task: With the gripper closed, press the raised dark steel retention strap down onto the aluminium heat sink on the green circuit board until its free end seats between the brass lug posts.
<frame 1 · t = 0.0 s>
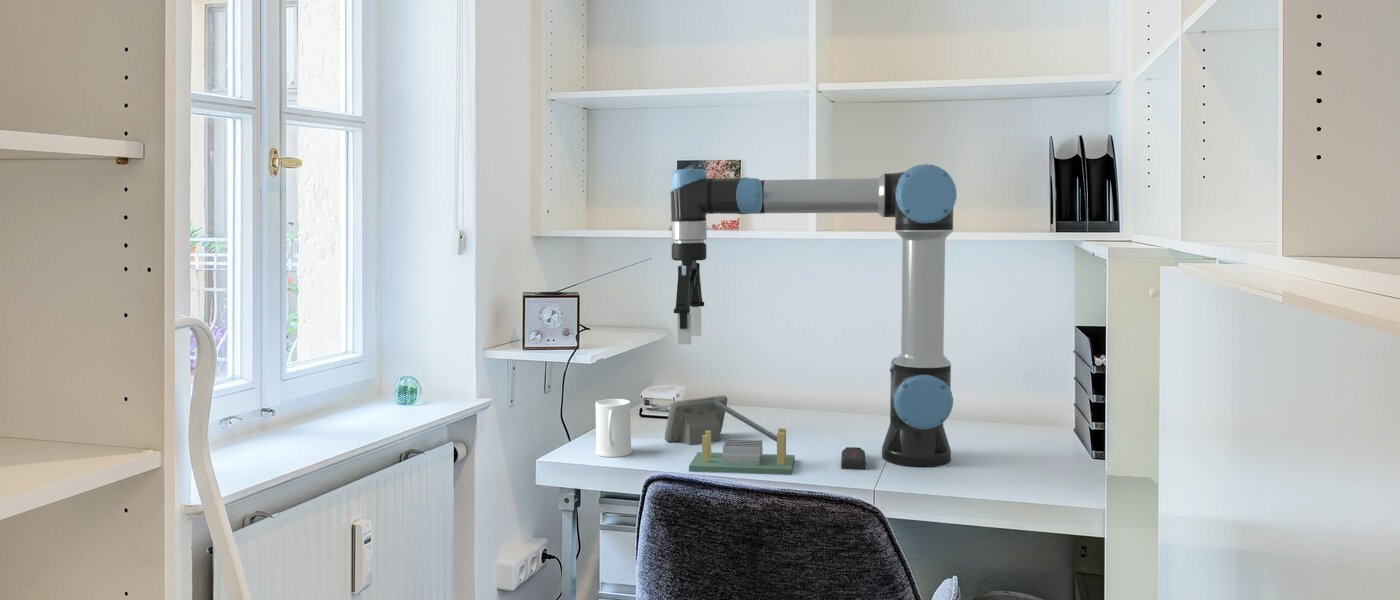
hand: (689, 340, 204), 28 cm above the table, fingers open, 13 cm apart
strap: (748, 422, 206), point 10 cm above the table, hinge at 30.0°
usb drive: (853, 464, 210), on the table
mug: (612, 455, 218), on the table
digital clock: (696, 440, 232), on the table
heatsink: (742, 451, 207), point 3 cm above the table
board: (742, 465, 207), on the table
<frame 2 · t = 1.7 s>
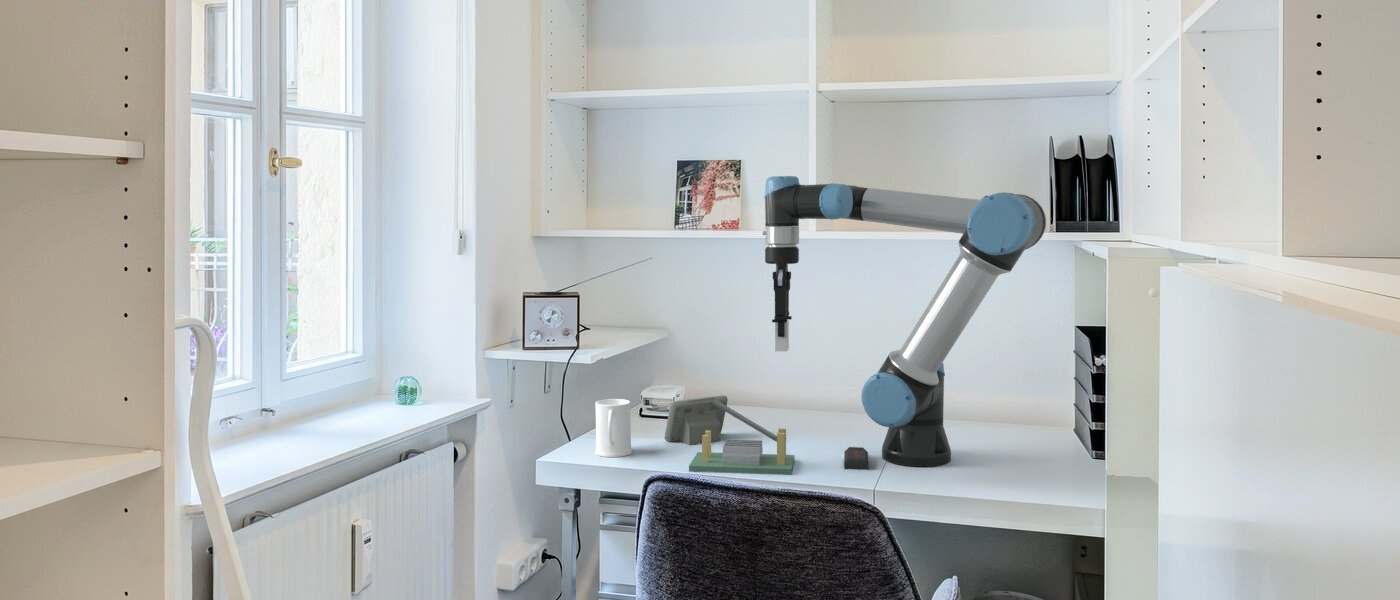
hand: (782, 349, 213), 25 cm above the table, fingers open, 3 cm apart
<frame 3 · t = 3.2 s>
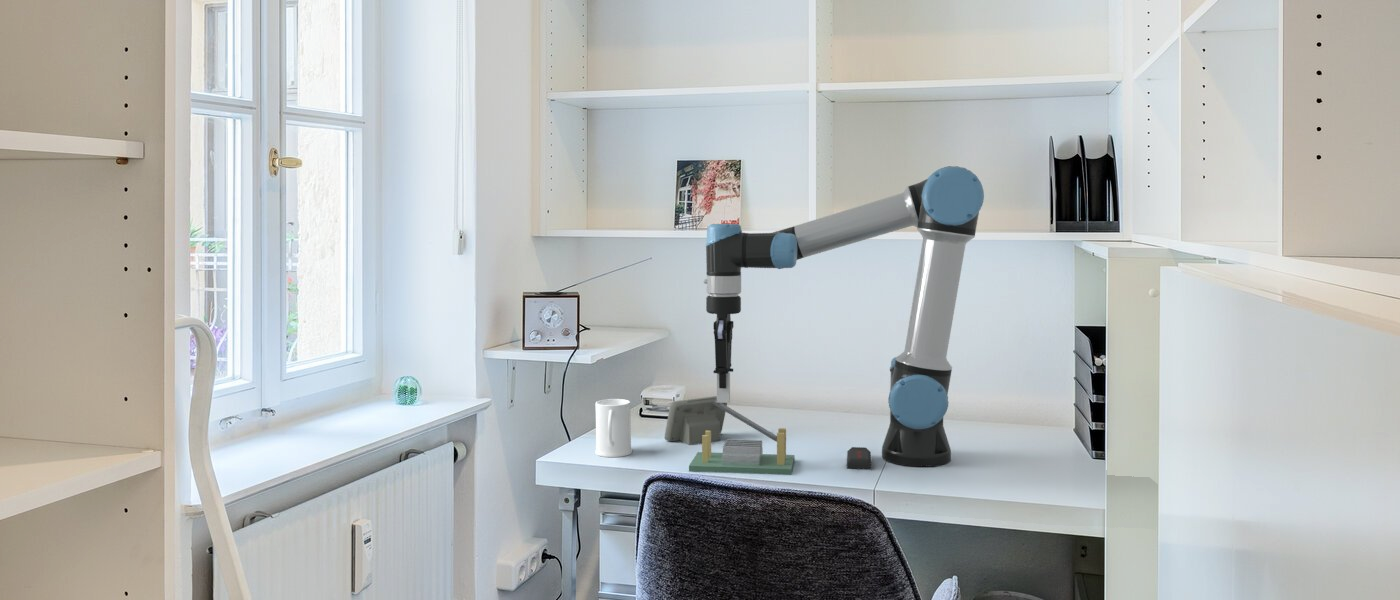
hand: (723, 402, 207), 14 cm above the table, fingers closed
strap: (748, 422, 206), point 10 cm above the table, hinge at 30.0°, touching gripper
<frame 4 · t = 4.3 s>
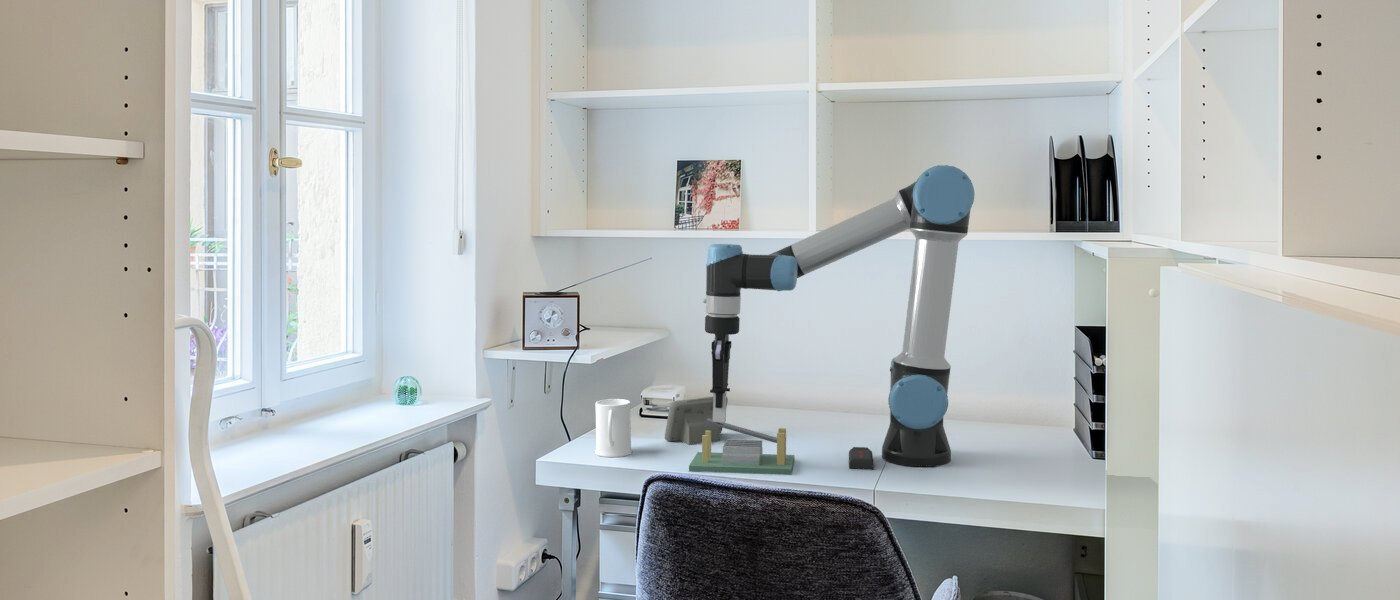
hand: (719, 421, 207), 10 cm above the table, fingers closed
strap: (745, 431, 207), point 8 cm above the table, hinge at 14.7°, touching gripper
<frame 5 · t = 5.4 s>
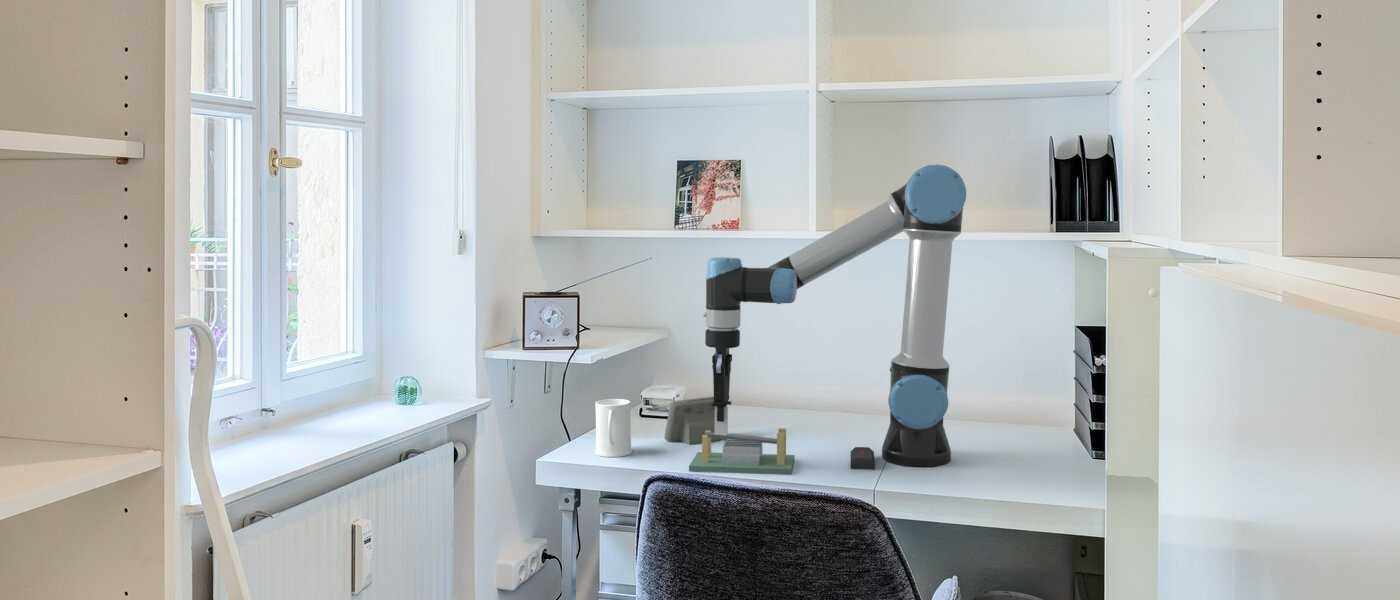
hand: (720, 434, 208), 7 cm above the table, fingers closed
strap: (743, 438, 207), point 6 cm above the table, hinge at 4.1°, touching gripper
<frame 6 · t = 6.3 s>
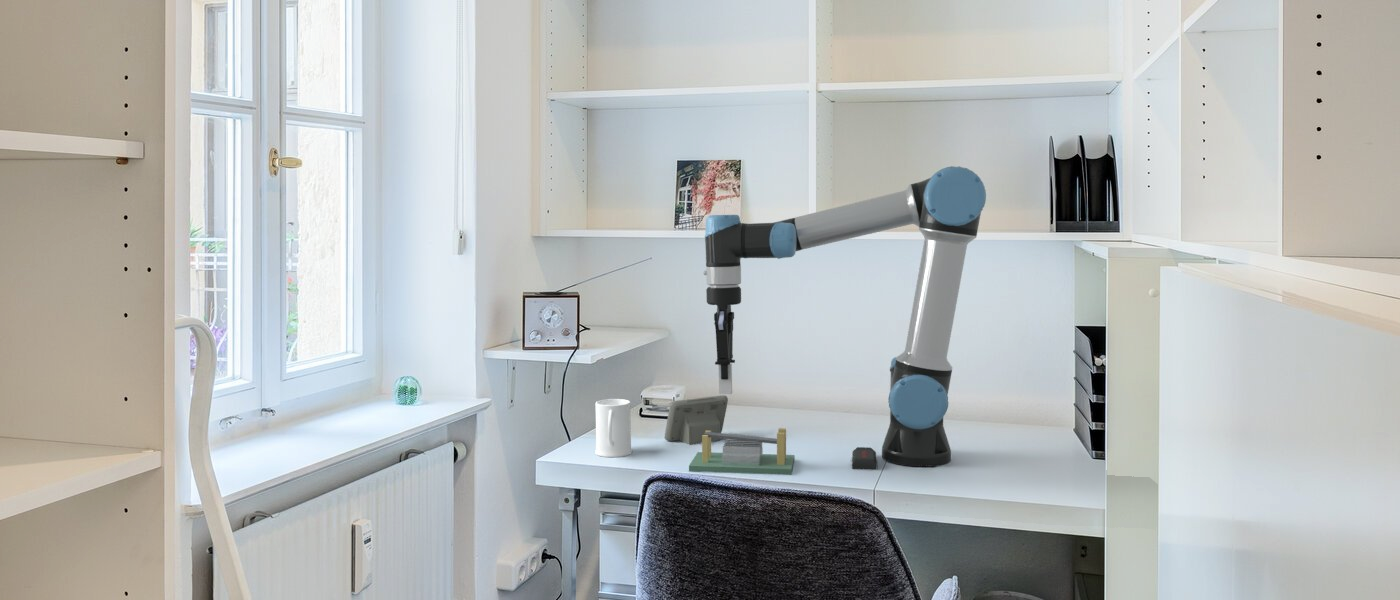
hand: (725, 393, 207), 16 cm above the table, fingers closed
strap: (743, 438, 207), point 6 cm above the table, hinge at 4.1°
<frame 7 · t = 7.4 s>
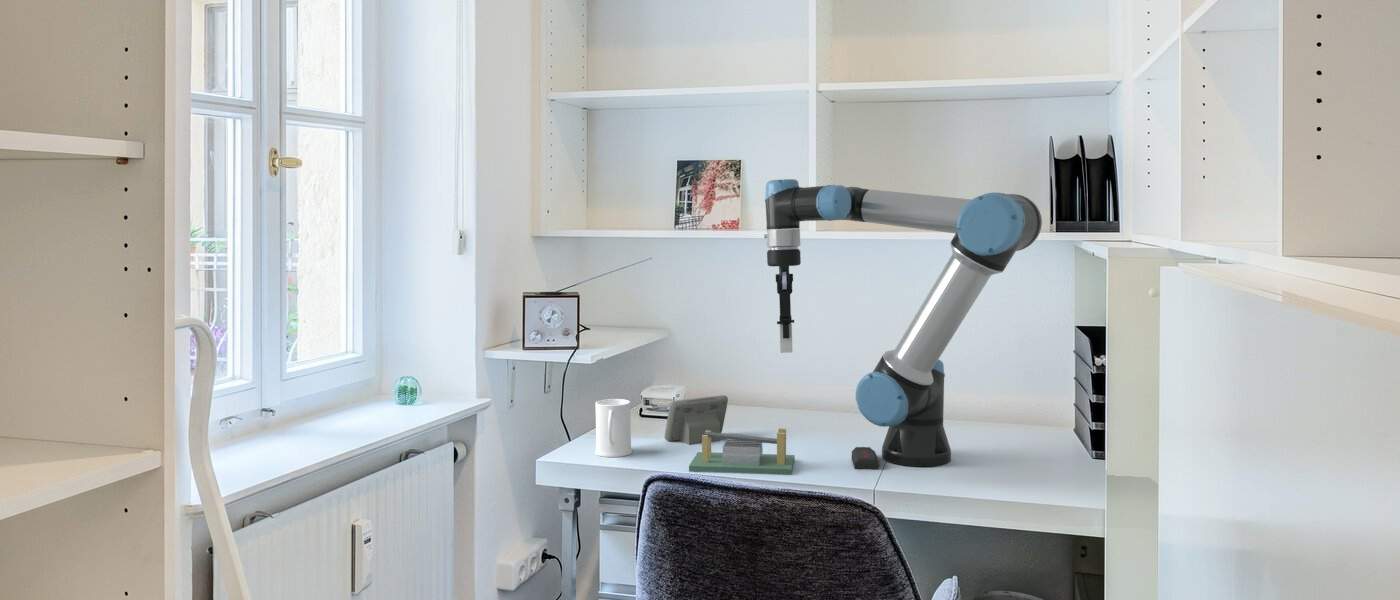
hand: (786, 352, 215), 24 cm above the table, fingers closed
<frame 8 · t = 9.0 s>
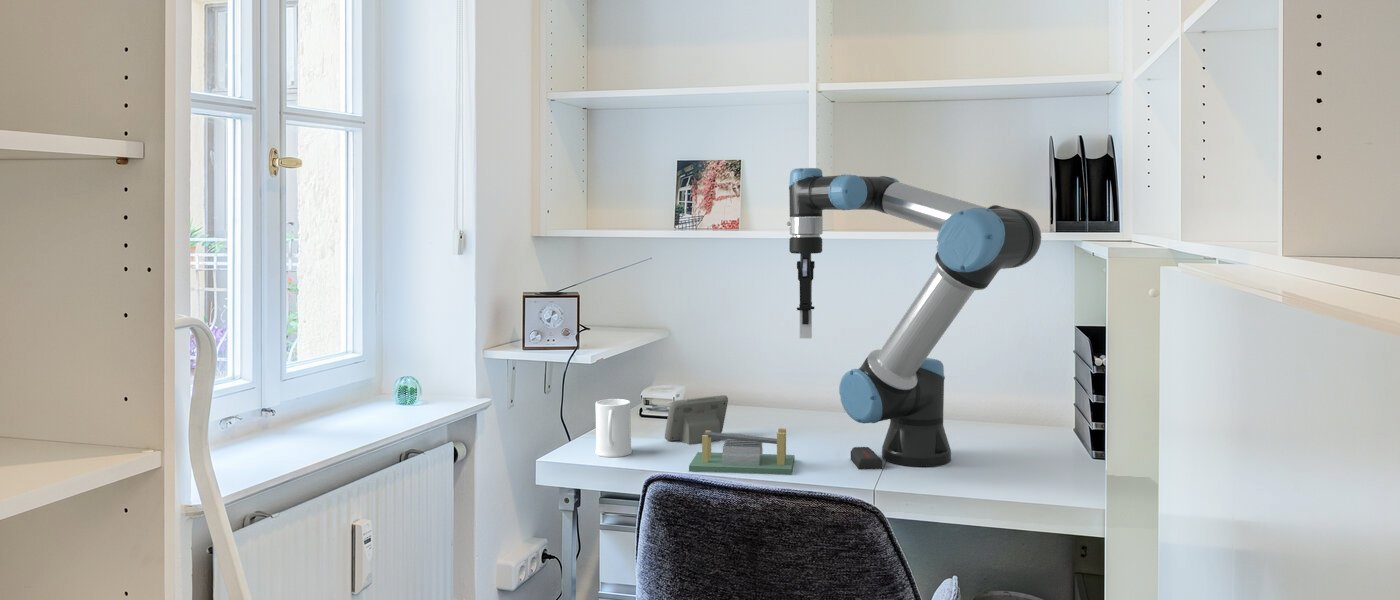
hand: (805, 337, 219), 26 cm above the table, fingers closed
at the end: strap at +4° (first picture: +30°) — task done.
